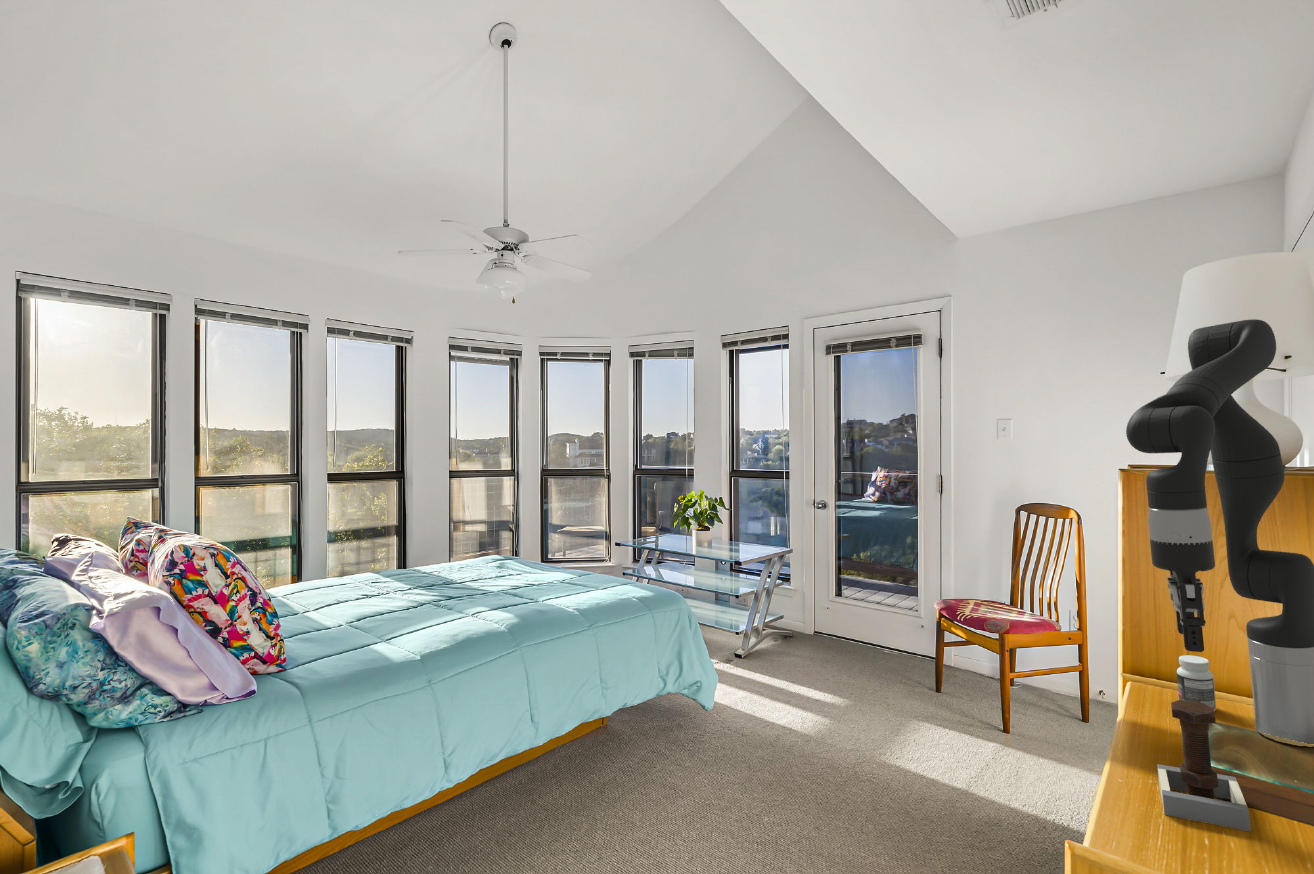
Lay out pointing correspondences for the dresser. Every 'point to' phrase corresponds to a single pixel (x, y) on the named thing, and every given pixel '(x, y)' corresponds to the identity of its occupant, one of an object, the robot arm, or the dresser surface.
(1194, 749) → the bolt
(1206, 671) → the pill bottle
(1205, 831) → the dresser surface
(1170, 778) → the grey white square frame
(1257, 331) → the robot arm
